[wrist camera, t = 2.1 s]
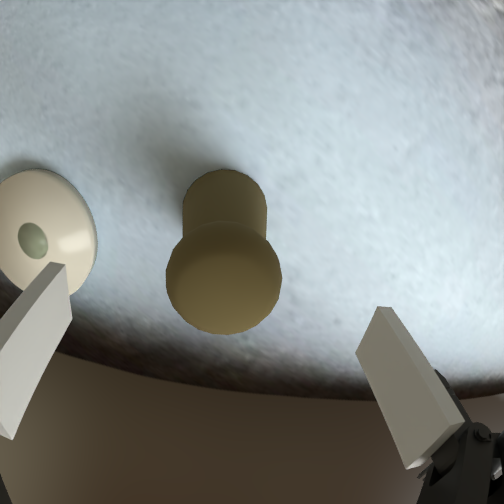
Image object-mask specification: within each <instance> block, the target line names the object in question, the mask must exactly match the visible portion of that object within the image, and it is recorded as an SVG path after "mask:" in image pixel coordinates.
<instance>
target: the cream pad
mask: <svg viewBox="0 0 504 504" xmlns="http://www.w3.org/2000/svg"><path fill="white" fill-rule="evenodd" d="M97 248H98V240H97V231H96V226H95V223H94V219H93V216H92V214H91V212H90V209H89V207H88V205H87V204H86V202H85V200H84V199H83V197H82V196H81V194H80V193H79V192H78V191H77V190H76V189H75V187H74V186H73V185H72V184H70V183H69V182H68V181H67V180H66V179H64V178H63V177H61V176H60V175H58V174H56V173H54V172H51V171H48V170H44V169H28V170H24V171H22V172H19V173H17V174H15V175H13V176H11V177H9V178H7V179H6V180H4V181H3V182H2V183H1V184H0V268H1V270H2V271H3V272H4V274H5V275H6V276H7V277H8V278H9V279H10V280H11V281H12V282H13V283H14V284H15V285H16V286H17V287H19V288H20V289H22V290H23V291H24V290H25V289H26V288H27V287H28V286H29V284H30V283H31V282H32V281H33V280H34V279H35V278H36V277H37V275H38V274H39V273H40V272H41V271H42V270H43V269H44V268H45V267H46V265H47V264H48V263H49V262H50V261H51V262H56V263H61V264H66V273H67V282H68V291H69V295H71V294H73V293H74V292H75V291H77V290H78V289H79V288H80V287H81V285H82V284H83V282H84V281H85V279H86V278H87V276H88V275H89V273H90V272H91V270H92V268H93V266H94V263H95V260H96V256H97Z"/></svg>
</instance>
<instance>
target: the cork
mask: <svg viewBox="0 0 504 504" xmlns="http://www.w3.org/2000/svg"><path fill="white" fill-rule="evenodd" d="M266 223H267V205H266V200H265V195H264V194H263V192H262V190H261V189H260V187H259V185H258V184H257V183H256V182H255V181H253V180H252V179H251V178H250V177H249V176H247V175H245V174H243V173H240V172H238V171H235V170H222V169H221V170H217V171H213V172H208V173H206V174H205V175H203V176H202V177H200V178H198V179H197V180H196V181H195V182H194V183H193V184H192V185H191V187H190V188H189V189H188V190H187V193H186V196H185V198H184V201H183V238H182V239H181V240H180V242H179V243H178V244H177V245H176V246H175V248H174V249H173V251H172V254H171V257H170V259H169V262H168V265H167V268H166V289H167V294H168V296H169V299H170V301H171V303H172V306H173V307H174V309H175V310H176V311H177V312H178V313H179V314H180V315H181V317H182V318H183V319H184V320H185V321H186V322H187V323H189V324H191V325H192V326H194V327H195V328H197V329H199V330H202V331H205V332H208V333H212V334H223V335H230V334H235V333H240V332H244V331H246V330H248V329H250V328H252V327H254V326H256V325H258V324H259V323H260V322H261V321H262V320H263V319H264V318H265V317H267V316H268V315H269V314H270V313H271V311H272V309H273V308H274V306H275V304H276V303H277V301H278V299H279V294H280V288H281V282H282V274H281V268H280V263H279V260H278V257H277V255H276V253H275V251H274V250H273V248H272V246H271V245H270V243H269V242H268V241H267V240H266Z"/></svg>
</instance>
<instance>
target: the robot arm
mask: <svg viewBox="0 0 504 504" xmlns="http://www.w3.org/2000/svg"><path fill="white" fill-rule="evenodd" d="M71 320H72V313H71V306H70V299H69V291H68V282H67V273H66V264H61V263H56V262H51V261H50V262H49V263H48V264H47V265H46V267H45V268H44V269H43V270H42V271H41V272H40V273H39V274H38V275H37V277H36V278H35V279H34V280H33V281H32V282H31V283H30V284H29V286H28V287H27V288H26V289H25V290H24V291H23V293H22V294H21V295H20V296H19V297H18V299H17V300H16V301H15V302H14V303H13V305H12V306H11V307H10V308H9V310H8V311H7V312H6V313H5V315H4V316H3V317H2V319H1V320H0V435H2V436H4V437H7V438H9V439H11V440H13V438H14V435H15V433H16V431H17V428H18V426H19V423H20V421H21V419H22V416H23V414H24V412H25V410H26V407H27V405H28V403H29V401H30V399H31V397H32V394H33V392H34V390H35V388H36V386H37V384H38V382H39V380H40V378H41V376H42V374H43V372H44V370H45V368H46V366H47V364H48V362H49V360H50V358H51V357H52V355H53V353H54V351H55V349H56V347H57V345H58V344H59V342H60V340H61V338H62V336H63V334H64V333H65V331H66V329H67V327H68V326H69V324H70V322H71ZM355 353H356V355H357V358H358V360H359V362H360V364H361V366H362V368H363V371H364V373H365V375H366V377H367V379H368V382H369V384H370V386H371V388H372V390H373V393H374V395H375V397H376V399H377V402H378V404H379V406H380V409H381V411H382V413H383V415H384V418H385V420H386V422H387V425H388V427H389V429H390V432H391V434H392V436H393V439H394V441H395V444H396V446H397V449H398V451H399V453H400V456H401V458H402V461H403V463H404V466H405V468H406V469H409V468H413V467H417V466H420V465H422V464H423V463H424V462H425V461H426V460H427V459H429V458H430V457H431V458H432V460H433V462H432V463H431V464H430V465H429V466H428V467H427V468H426V469H425V470H423V471H422V472H421V473H420V474H419V476H418V477H417V478H421V477H422V476H423V475H424V474H426V473H427V474H426V477H425V478H424V479H423V481H424V483H423V487H422V489H421V493H420V495H419V498H418V501H417V504H504V431H503V432H502V433H491V431H490V430H489V428H488V427H487V426H485V425H484V424H482V423H479V422H475V423H473V422H472V421H471V420H470V418H469V416H468V414H467V413H466V411H465V409H464V408H463V406H462V404H461V403H460V401H459V399H458V398H457V396H455V393H454V391H453V390H452V389H450V385H449V384H448V382H447V380H446V379H445V377H443V376H442V375H441V374H440V373H439V372H438V371H437V370H436V369H435V370H434V369H433V368H432V366H431V365H430V363H429V362H428V360H427V359H426V357H425V356H424V354H423V353H422V351H421V350H420V348H419V347H418V345H417V344H416V342H415V341H414V339H413V338H412V336H411V335H410V333H409V332H408V330H407V329H406V328H405V326H404V325H403V323H402V322H401V320H400V319H399V317H398V316H397V315H396V313H395V312H394V310H393V309H392V308H391V307H381V306H377V309H376V311H375V313H374V315H373V317H372V320H371V322H370V324H369V326H368V328H367V330H366V332H365V334H364V336H363V338H362V340H361V343H360V345H359V347H358V349H357V351H356V352H355ZM501 468H502V475H501V476H500V477H499V478H497V479H495V478H494V474H495V473H497V472H498V471H499V470H500V469H501ZM0 504H12V502H11V499H10V497H9V495H8V492H7V490H6V488H5V485H4V482H3V480H2V477H1V474H0Z"/></svg>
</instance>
